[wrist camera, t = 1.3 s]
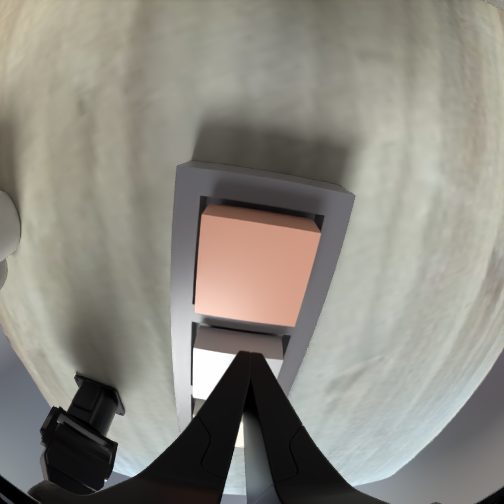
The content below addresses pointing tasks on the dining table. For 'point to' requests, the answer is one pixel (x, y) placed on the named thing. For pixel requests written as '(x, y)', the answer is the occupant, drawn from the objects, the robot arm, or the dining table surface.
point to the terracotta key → (254, 264)
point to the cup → (7, 233)
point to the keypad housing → (259, 198)
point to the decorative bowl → (496, 3)
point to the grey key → (228, 355)
